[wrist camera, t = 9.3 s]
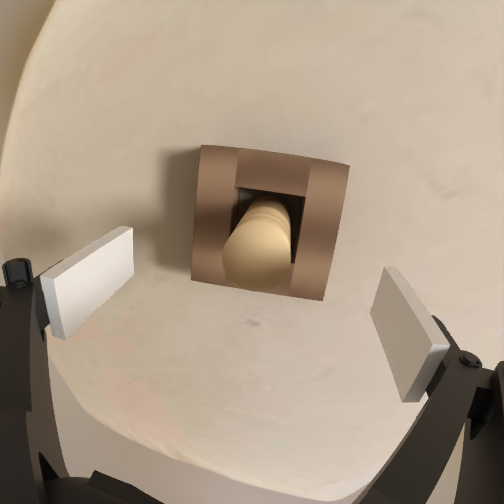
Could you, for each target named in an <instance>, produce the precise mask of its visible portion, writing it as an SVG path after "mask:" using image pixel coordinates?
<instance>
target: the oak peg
mask: <svg viewBox="0 0 504 504" xmlns="http://www.w3.org/2000/svg"><path fill="white" fill-rule="evenodd" d="M290 262H291V252H290V212H289V209H288V207H287V205H286V203H285V202H284V201H283V200H282V199H280V198H278V197H276V196H272V195H265V196H261V197H259V198H257V199H256V200H254V201H253V202H252V204H251V205H250V207H249V208H248V210H247V211H246V213H245V214H244V216H243V217H242V219H241V220H240V222H239V223H238V225H237V227H236V228H235V230H234V231H233V233H232V234H231V236H230V237H229V239H228V240H227V242H226V244H225V246H224V248H223V252H222V264H223V268H224V270H225V272H226V274H227V276H228V277H229V278H230V279H231V281H232V282H234V283H235V284H236V285H238V286H239V287H241V288H243V289H246V290H250V291H266V290H269V289H272V288H274V287H275V286H277V285H278V284H280V283H281V282H282V281H283V280H284V278H285V277H286V275H287V274H288V271H289V268H290Z"/></svg>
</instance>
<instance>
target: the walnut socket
mask: <svg viewBox="0 0 504 504" xmlns="http://www.w3.org/2000/svg"><path fill="white" fill-rule="evenodd" d="M349 168H350V166H349V165H346V164H342V163H337V162H332V161H326V160H321V159H315V158H309V157H303V156H297V155H290V154H283V153H276V152H269V151H261V150H253V149H245V148H236V147H226V146H216V145H201V153H200V163H199V173H198V184H197V196H196V208H195V221H194V236H193V252H192V270H191V280H192V281H198V282H204V283H210V284H215V285H221V286H227V287H233V288H239V289H243V288H241V287H239V286H238V285H236V284H235V283H234V282H232V281H231V279H230V278H229V277H228V276H227V274H226V272H225V270H224V268H223V264H222V252H223V248H224V246H225V244H226V242H227V240H228V239H229V237H230V236H231V234H232V233H233V231H234V230H235V228H236V226H237V217H238V209H239V200H240V191H241V187H243V188H250V189H258V190H265V191H272V192H279V193H285V194H292V195H298V196H303V198H302V204H301V210H300V216H299V222H298V229H297V234H296V240H295V246H294V249H290V252H291V262H290V268H289V271H288V274H287V275H286V277H285V278H284V280H283V281H282V282H281V283H280V284H278V285H277V286H275V287H274V288H272V289H269V290H266V291H258V292H264V293H271V294H277V295H284V296H291V297H297V298H304V299H311V300H318V301H323V297H324V293H325V289H326V284H327V280H328V276H329V271H330V267H331V262H332V258H333V253H334V249H335V244H336V239H337V234H338V229H339V224H340V219H341V214H342V208H343V203H344V197H345V192H346V186H347V180H348V174H349ZM245 290H246V289H245Z"/></svg>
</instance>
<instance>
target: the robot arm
mask: <svg viewBox="0 0 504 504" xmlns="http://www.w3.org/2000/svg"><path fill="white" fill-rule="evenodd" d="M2 269H3V274H4V279H5V283H6V287H3V286H0V504H164V503H162V502H160V501H158V500H157V499H155V498H153V497H151V496H150V495H148V494H146V493H144V492H143V491H141V490H139V489H138V488H136V487H134V486H133V485H131V484H128V483H125V482H123V481H120V480H117V479H115V478H112V477H110V476H108V475H105V474H102V473H100V472H98V471H96V470H95V471H94V472H93V474H92V476H91V477H90V478H84V477H70V476H69V474H68V472H67V469H66V467H65V463H64V460H63V455H62V451H61V446H60V442H59V437H58V432H57V427H56V421H55V415H54V409H53V402H52V395H51V388H50V378H49V368H48V355H47V337H46V332H45V327H46V326H47V325H49V324H50V327H51V330H52V334H53V336H55V337H58V338H61V339H63V340H67V339H68V338H69V337H70V336H71V335H72V334H73V333H74V332H75V331H76V330H77V329H78V328H79V327H80V326H81V325H82V324H83V323H84V322H85V321H86V320H87V319H88V318H89V317H90V316H91V315H92V314H93V313H94V312H95V311H96V310H97V309H98V308H99V307H100V306H101V305H102V304H103V303H104V302H105V301H107V300H108V299H109V298H110V297H111V296H112V295H113V294H114V293H115V292H116V291H117V290H118V289H119V288H120V287H121V286H122V285H123V284H124V283H125V282H126V281H127V280H129V279H130V278H131V277H132V276H133V275H134V266H133V227H126V226H119V227H118V228H116V229H114V230H112V231H111V232H109V233H107V234H105V235H104V236H102V237H100V238H99V239H97V240H95V241H94V242H92V243H90V244H89V245H87V246H85V247H84V248H82V249H80V250H79V251H77V252H75V253H74V254H72V255H71V256H69V257H67V258H66V259H64V260H61V261H60V262H58V263H56V264H55V265H54V266H52V267H50V268H49V269H48V270H46V271H44V272H43V273H41V274H40V275H38V276H36V277H35V278H33V274H32V268H31V262H30V260H29V259H26V258H16V259H12V260H9V261H7V262H6V263H4V264H3V266H2ZM370 314H371V317H372V319H373V322H374V324H375V327H376V330H377V332H378V335H379V338H380V340H381V343H382V346H383V348H384V351H385V354H386V357H387V359H388V362H389V365H390V368H391V371H392V374H393V376H394V379H395V382H396V385H397V388H398V391H399V394H400V398H401V401H402V402H419V401H420V399H421V398H422V396H423V394H424V393H425V391H426V392H427V395H428V397H429V399H428V400H427V402H426V403H425V405H424V406H423V408H422V410H421V411H420V413H419V414H418V416H417V417H416V420H415V421H414V423H413V424H412V426H411V427H410V429H409V431H408V432H407V434H406V435H405V437H404V438H403V439H402V441H401V442H400V444H399V445H398V447H397V448H396V450H395V451H394V452H393V454H392V455H391V456H390V458H389V459H388V461H387V462H386V463H385V464H384V466H383V467H382V468H381V470H380V471H379V472H378V474H377V475H376V476H375V477H374V479H373V480H372V481H371V482H370V483H369V485H368V486H367V487H366V488H365V489H364V491H363V492H362V493H361V494H360V495H359V497H358V498H357V499H356V500H355V501H354V502H353V503H352V504H425V503H426V502H427V500H428V498H429V497H430V495H431V493H432V491H433V489H434V488H435V486H436V484H437V482H438V480H439V478H440V476H441V474H442V472H443V470H444V468H445V466H446V464H447V462H448V460H449V458H450V456H451V454H452V451H453V449H454V447H455V445H456V442H457V440H458V437H459V435H460V432H461V430H462V428H463V425H464V423H465V431H464V442H463V452H462V460H461V467H460V474H459V480H458V486H457V491H456V497H455V501H454V504H504V361H500V362H499V363H498V365H497V366H496V368H495V370H494V371H493V370H489V369H485V368H482V363H481V361H480V359H479V358H478V357H477V356H475V355H474V354H472V353H470V352H467V351H463V350H460V348H459V347H458V345H457V344H456V342H455V341H454V339H453V338H452V336H450V333H449V332H448V330H446V327H445V326H444V324H443V323H442V322H441V321H440V320H439V319H438V318H436V317H435V316H433V315H430V313H429V312H428V310H427V309H426V307H425V306H424V304H423V303H422V301H421V300H420V299H419V297H418V296H417V294H416V293H415V292H414V290H413V289H412V287H411V286H410V285H409V283H408V282H407V280H406V279H405V278H404V276H403V275H402V274H401V272H400V271H399V270H398V268H393V267H386V266H384V269H383V273H382V276H381V279H380V283H379V286H378V289H377V293H376V296H375V299H374V302H373V305H372V308H371V311H370Z"/></svg>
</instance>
